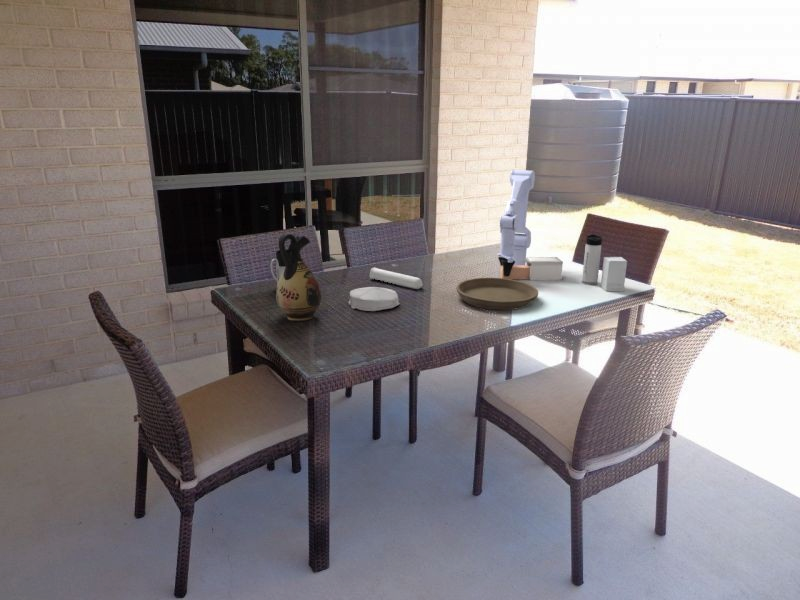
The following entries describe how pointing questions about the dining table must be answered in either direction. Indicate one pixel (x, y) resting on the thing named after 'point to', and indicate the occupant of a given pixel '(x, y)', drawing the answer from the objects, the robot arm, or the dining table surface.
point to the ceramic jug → (297, 282)
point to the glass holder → (279, 264)
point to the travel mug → (592, 259)
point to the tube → (395, 278)
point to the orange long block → (517, 272)
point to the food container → (373, 298)
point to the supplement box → (613, 273)
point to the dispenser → (544, 268)
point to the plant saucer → (497, 293)
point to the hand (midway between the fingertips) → (505, 274)
